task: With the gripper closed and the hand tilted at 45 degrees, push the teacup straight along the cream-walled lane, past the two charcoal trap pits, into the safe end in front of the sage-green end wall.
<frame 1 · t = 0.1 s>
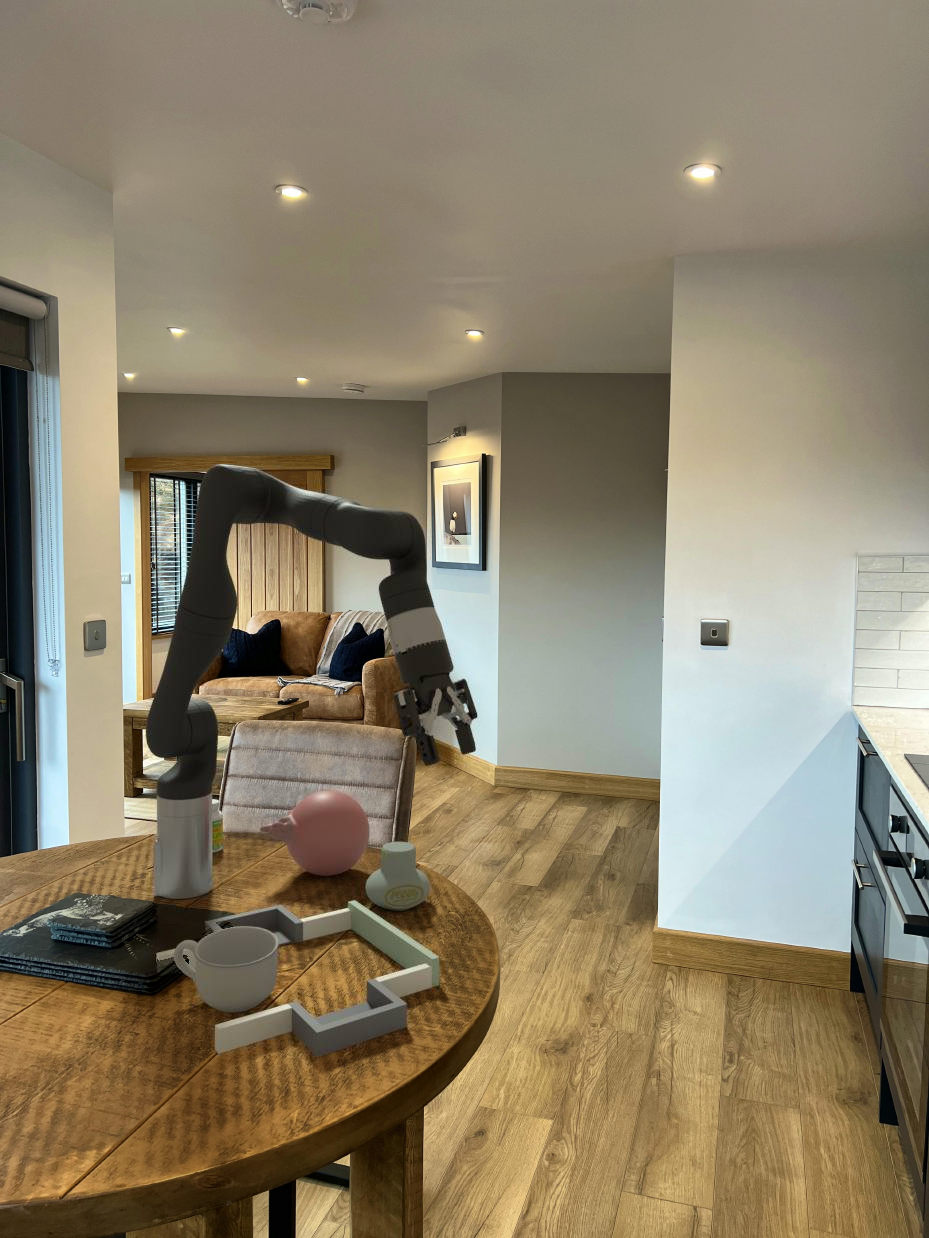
hand: (451, 758, 123), 31 cm above the table, tool tilted 20°, fingers open, 8 cm apart
supplement bottle: (208, 850, 179), on the table
teacup: (226, 1001, 119), on the table
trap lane: (292, 980, 124), on the table
air freshener: (397, 905, 153), on the table
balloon: (314, 875, 166), on the table
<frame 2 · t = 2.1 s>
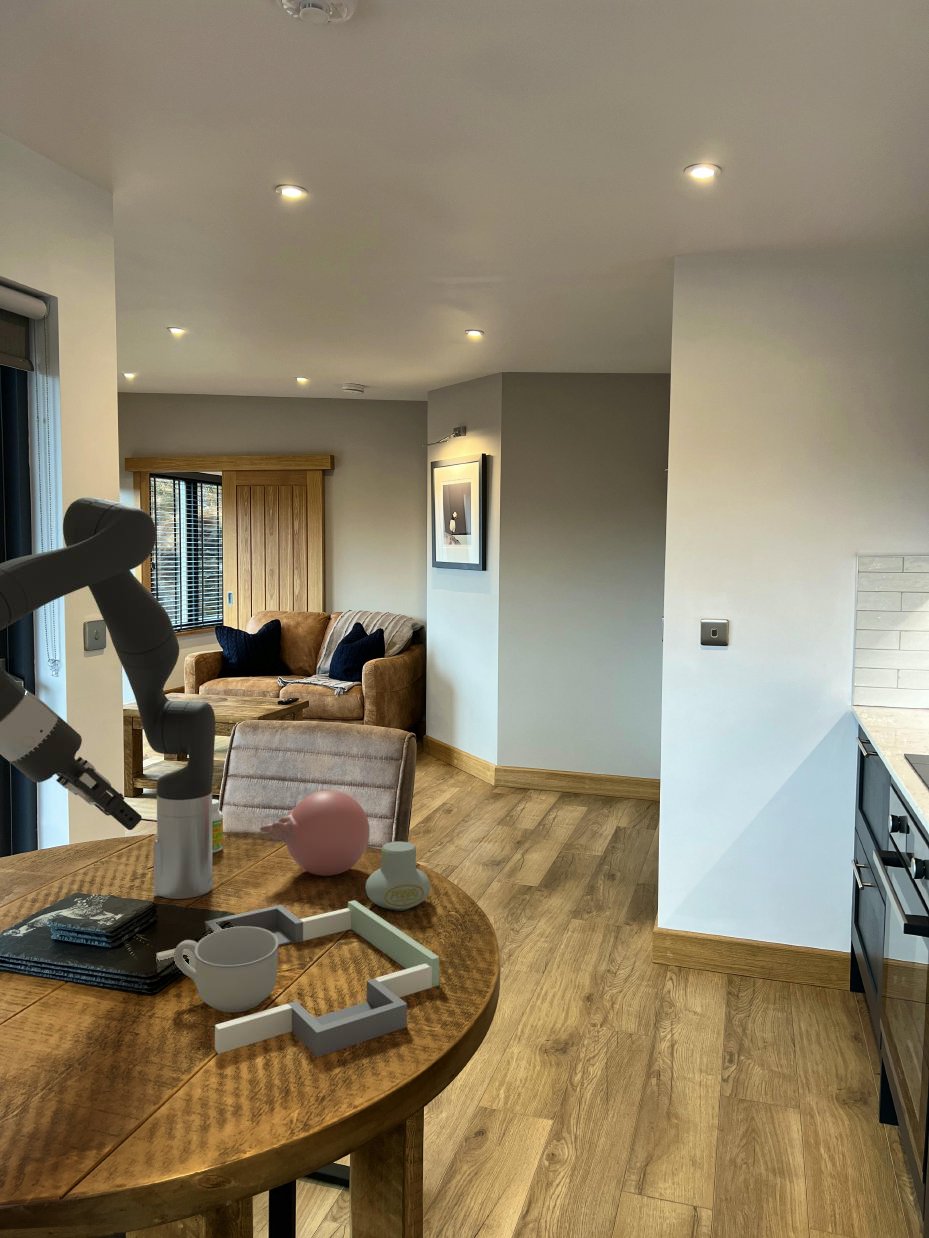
hand: (124, 816, 116), 25 cm above the table, tool tilted 45°, fingers open, 8 cm apart
nothing on the table moved.
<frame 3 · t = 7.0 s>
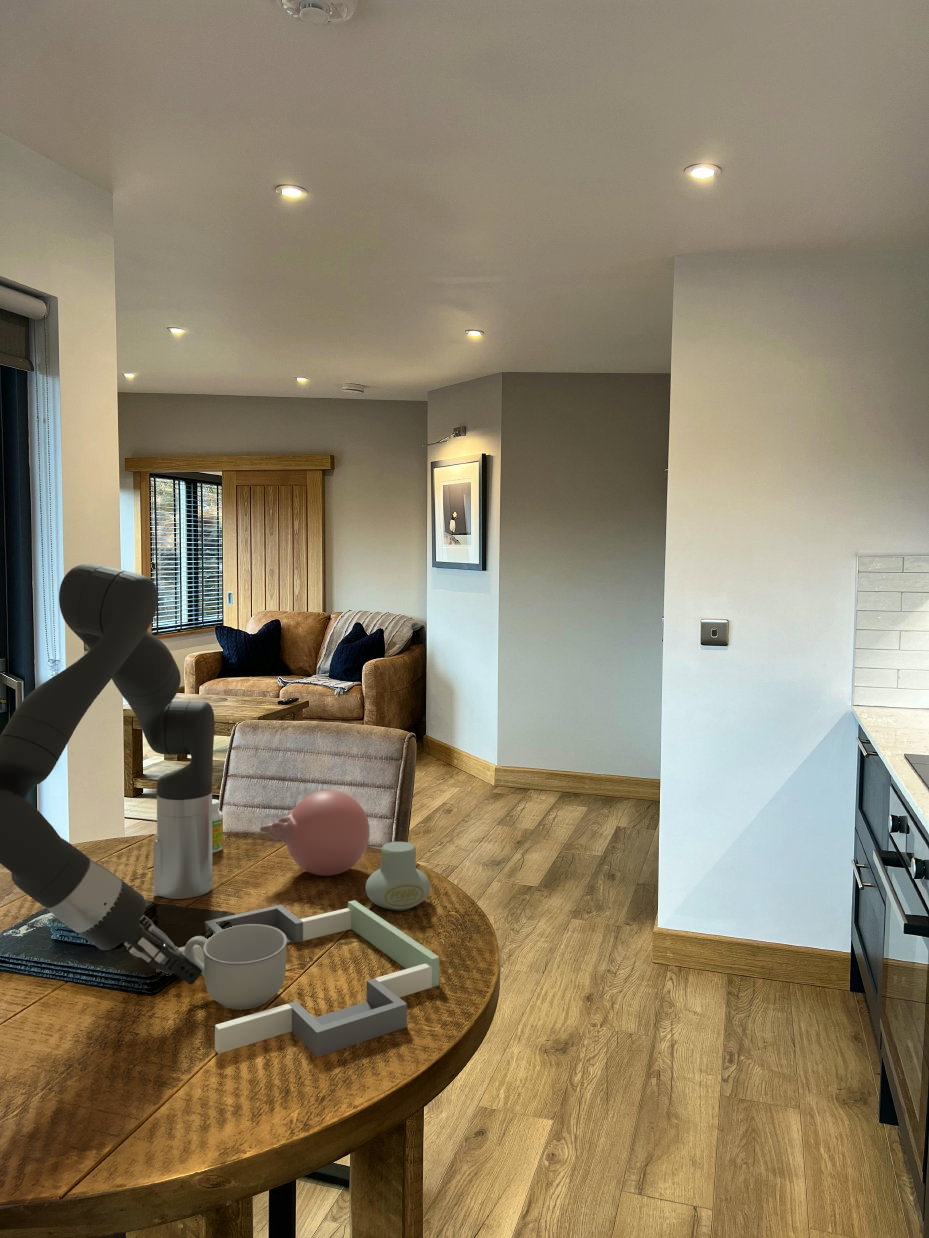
hand: (195, 975, 116), 4 cm above the table, tool tilted 45°, fingers closed
teacup: (235, 997, 119), on the table, touching gripper
everything else where it was.
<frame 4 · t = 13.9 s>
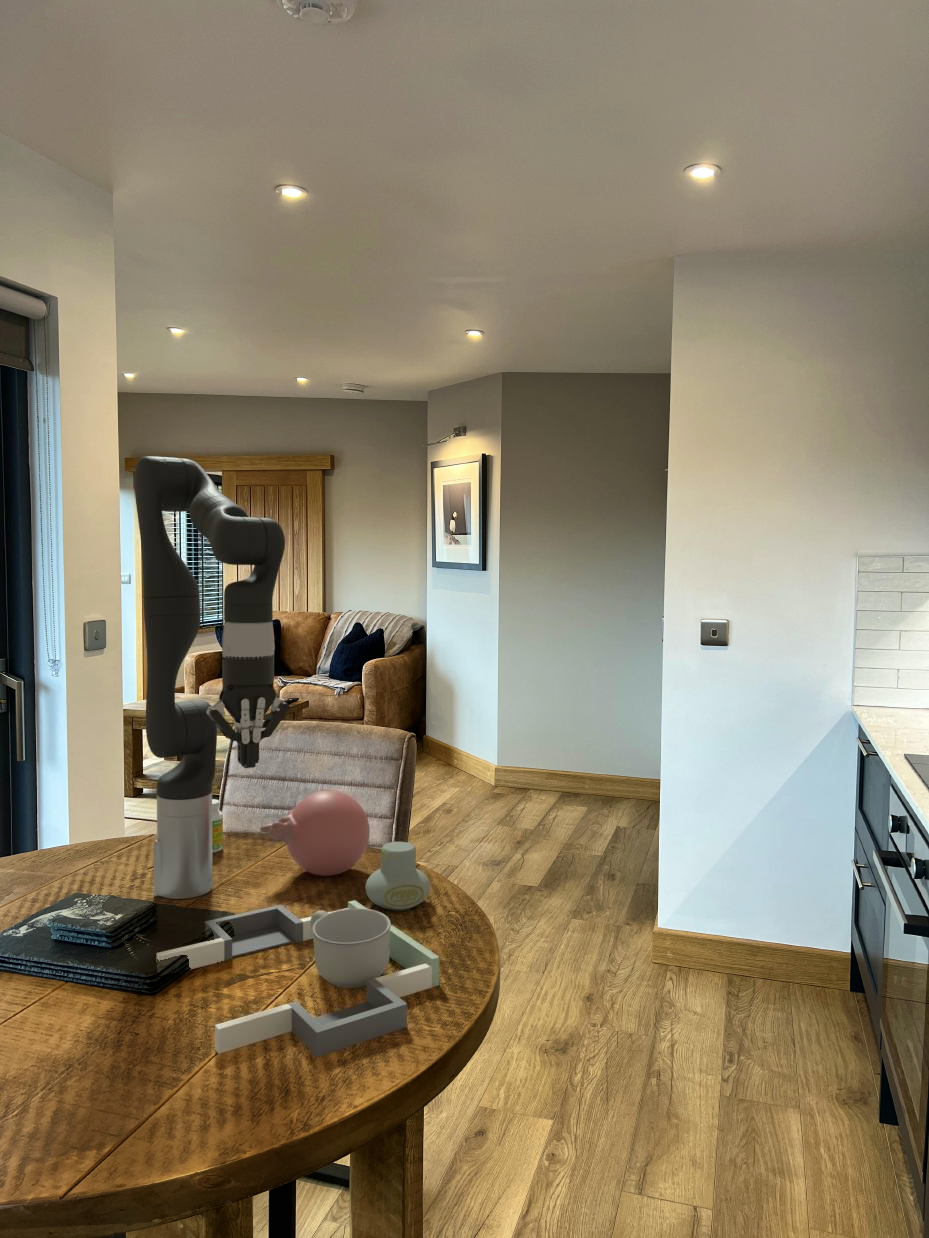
hand: (248, 766, 135), 27 cm above the table, tool pointing down, fingers closed
teacup: (345, 975, 127), on the table
everything else where it was.
at the end: teacup inside the target area (2.4 cm from its centre), on the table; teacup tilted 0°; teacup moved 16.7 cm from its start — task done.
